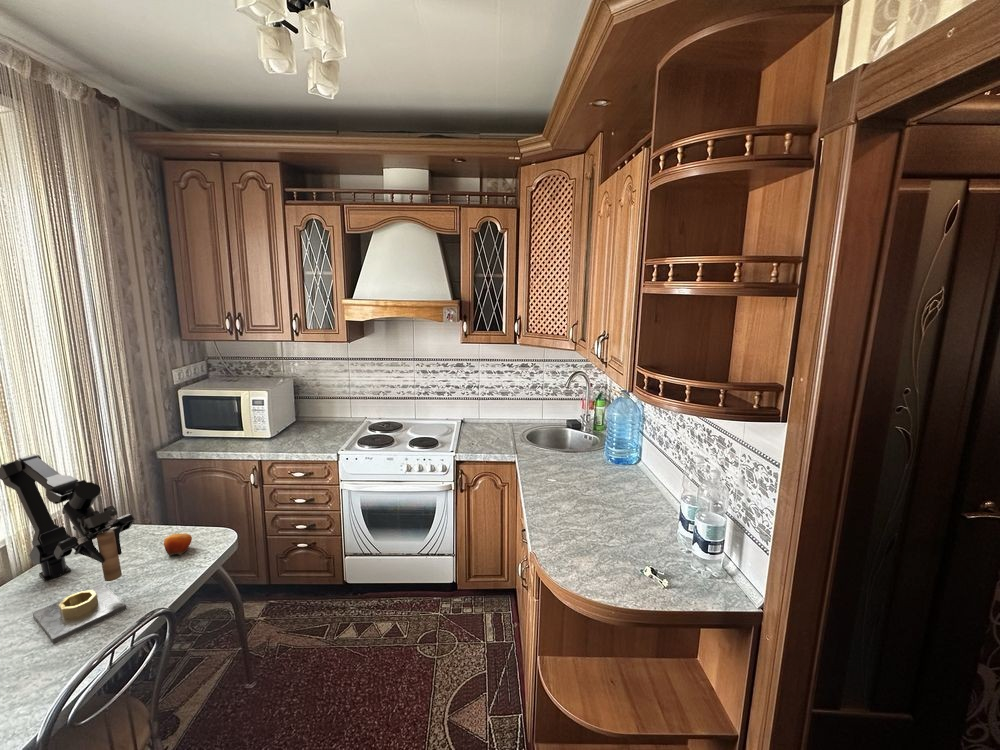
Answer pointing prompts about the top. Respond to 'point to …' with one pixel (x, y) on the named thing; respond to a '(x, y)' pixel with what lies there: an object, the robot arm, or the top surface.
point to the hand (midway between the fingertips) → (112, 558)
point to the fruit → (177, 543)
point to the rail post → (109, 555)
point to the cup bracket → (78, 612)
